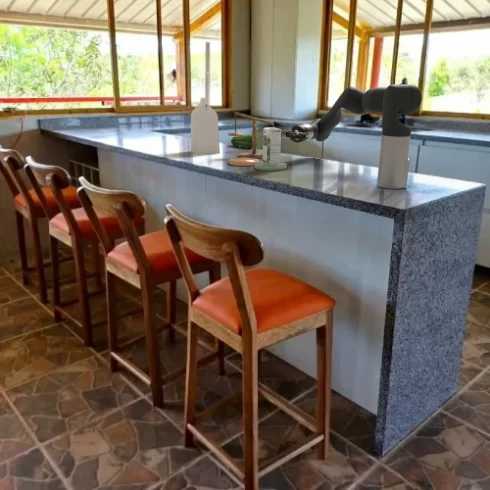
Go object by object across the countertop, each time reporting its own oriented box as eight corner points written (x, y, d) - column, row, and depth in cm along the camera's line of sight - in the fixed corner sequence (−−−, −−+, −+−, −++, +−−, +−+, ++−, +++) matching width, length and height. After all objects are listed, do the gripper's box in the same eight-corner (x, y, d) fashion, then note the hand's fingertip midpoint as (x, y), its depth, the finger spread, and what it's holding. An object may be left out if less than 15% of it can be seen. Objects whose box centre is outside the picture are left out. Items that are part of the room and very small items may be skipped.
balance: (279, 156, 227) (280, 111, 220) (280, 158, 221) (282, 112, 214) (228, 155, 227) (228, 111, 220) (227, 158, 220) (227, 112, 213)
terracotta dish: (258, 161, 212) (258, 157, 211) (259, 166, 200) (259, 162, 199) (229, 161, 212) (229, 157, 211) (228, 166, 199) (228, 162, 199)
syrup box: (261, 163, 197) (262, 127, 193) (274, 162, 199) (275, 127, 195) (267, 165, 192) (268, 128, 188) (280, 164, 194) (281, 128, 190)
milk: (219, 153, 234) (219, 98, 226) (197, 154, 230) (195, 98, 222) (212, 150, 245) (211, 97, 236) (190, 151, 241) (189, 97, 232)
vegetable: (253, 132, 246) (229, 130, 260) (248, 146, 246) (224, 142, 261) (262, 138, 251) (238, 135, 266) (257, 151, 251) (233, 147, 266)
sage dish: (285, 165, 203) (285, 161, 202) (288, 170, 190) (288, 166, 190) (254, 165, 202) (254, 161, 202) (255, 170, 190) (255, 166, 190)
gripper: (288, 123, 214) (268, 126, 202) (316, 125, 206) (297, 128, 194) (287, 140, 217) (267, 143, 204) (315, 143, 209) (296, 147, 197)
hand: (282, 136), depth 199 cm, fingers open, 8 cm apart
